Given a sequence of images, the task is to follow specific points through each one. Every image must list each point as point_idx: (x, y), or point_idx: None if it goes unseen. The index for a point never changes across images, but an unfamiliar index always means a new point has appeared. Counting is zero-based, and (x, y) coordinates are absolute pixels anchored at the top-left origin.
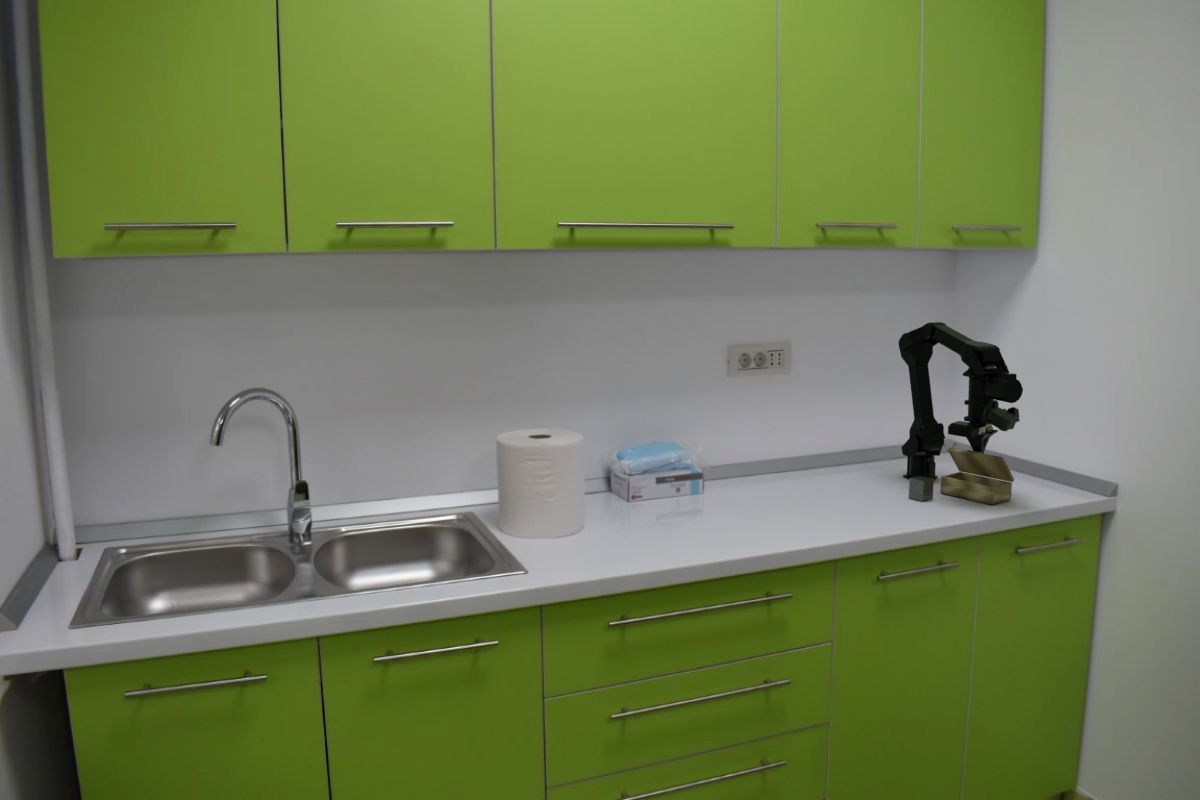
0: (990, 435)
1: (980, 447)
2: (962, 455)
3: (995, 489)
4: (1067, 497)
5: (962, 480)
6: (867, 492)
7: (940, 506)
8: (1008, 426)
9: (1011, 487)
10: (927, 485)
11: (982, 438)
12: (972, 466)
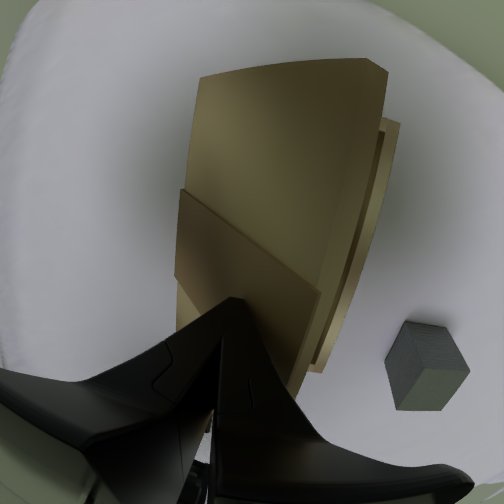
0: (107, 411)
1: (272, 364)
2: None
3: None
4: (82, 16)
5: (344, 292)
6: (404, 431)
7: (475, 269)
8: None
9: None
10: (446, 357)
11: (343, 449)
12: None
